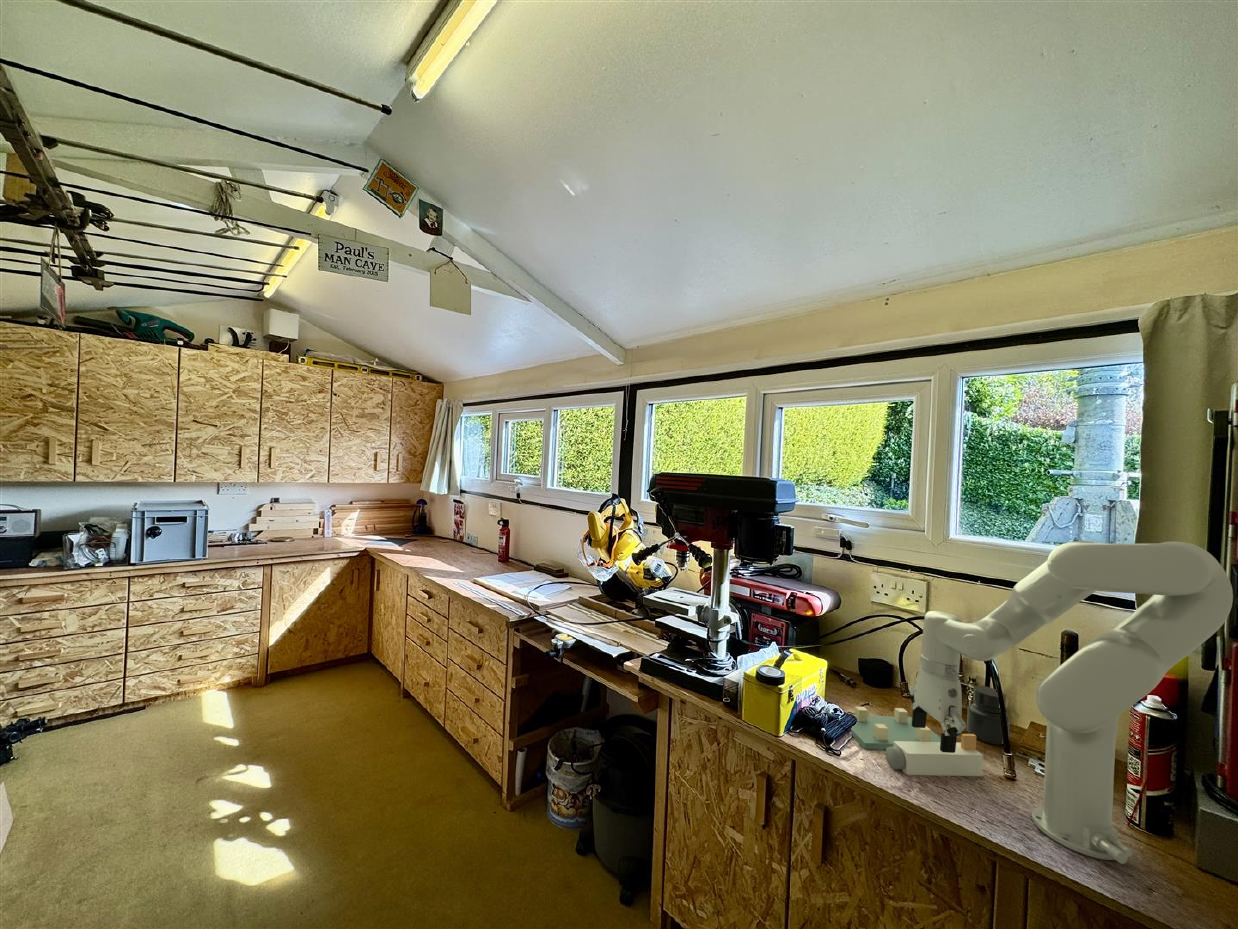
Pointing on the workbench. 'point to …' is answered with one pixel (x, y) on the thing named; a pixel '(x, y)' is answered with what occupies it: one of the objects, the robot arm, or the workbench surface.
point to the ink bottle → (986, 715)
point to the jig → (888, 730)
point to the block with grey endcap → (936, 758)
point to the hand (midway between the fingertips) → (932, 739)
